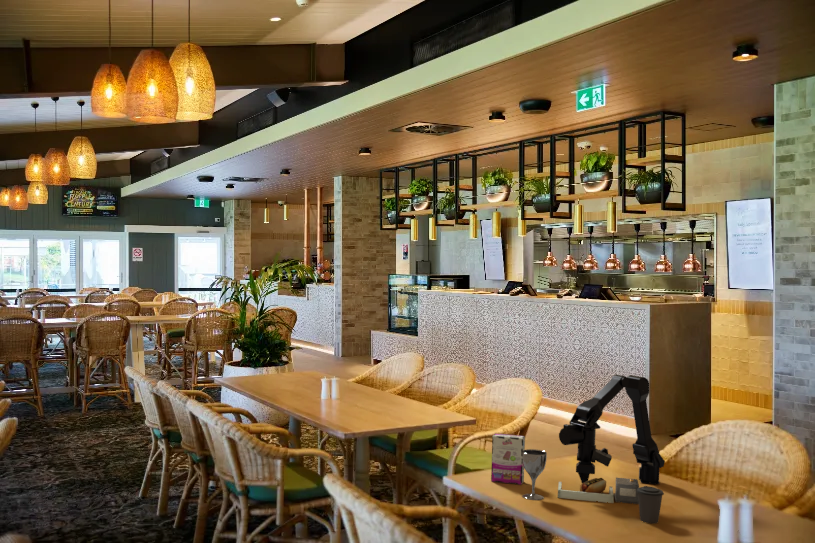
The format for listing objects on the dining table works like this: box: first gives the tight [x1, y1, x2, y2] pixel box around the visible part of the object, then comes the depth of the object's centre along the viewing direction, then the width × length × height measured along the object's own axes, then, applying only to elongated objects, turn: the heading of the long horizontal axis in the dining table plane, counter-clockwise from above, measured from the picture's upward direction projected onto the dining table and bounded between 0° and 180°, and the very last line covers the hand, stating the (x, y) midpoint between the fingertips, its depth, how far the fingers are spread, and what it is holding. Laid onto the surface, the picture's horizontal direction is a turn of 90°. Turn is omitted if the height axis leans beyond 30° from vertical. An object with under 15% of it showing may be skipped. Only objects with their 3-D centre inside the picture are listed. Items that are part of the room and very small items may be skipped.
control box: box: [613, 477, 640, 505], centre depth 260 cm, size 8×9×6 cm
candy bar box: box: [490, 433, 526, 485], centre depth 277 cm, size 11×5×16 cm, turn 73°
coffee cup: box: [637, 485, 665, 525], centre depth 238 cm, size 8×8×10 cm
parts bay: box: [557, 481, 615, 504], centre depth 263 cm, size 18×11×2 cm, turn 77°
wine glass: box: [521, 448, 548, 501], centre depth 259 cm, size 8×8×15 cm
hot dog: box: [579, 477, 607, 494], centre depth 264 cm, size 5×13×5 cm, turn 139°
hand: (584, 486), depth 267 cm, fingers closed
